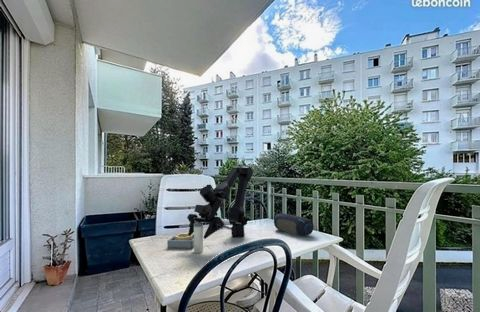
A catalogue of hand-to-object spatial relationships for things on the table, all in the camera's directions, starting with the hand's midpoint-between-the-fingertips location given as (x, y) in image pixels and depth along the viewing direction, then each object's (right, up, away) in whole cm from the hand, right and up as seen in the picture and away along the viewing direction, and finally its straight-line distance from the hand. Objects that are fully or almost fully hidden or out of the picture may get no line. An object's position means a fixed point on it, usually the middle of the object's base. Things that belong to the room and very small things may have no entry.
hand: (196, 236), depth 115 cm
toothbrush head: (+13, -10, +48) cm, 51 cm away
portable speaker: (+49, -8, +32) cm, 59 cm away
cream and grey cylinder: (+1, -7, +1) cm, 7 cm away
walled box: (-8, -7, +12) cm, 16 cm away
